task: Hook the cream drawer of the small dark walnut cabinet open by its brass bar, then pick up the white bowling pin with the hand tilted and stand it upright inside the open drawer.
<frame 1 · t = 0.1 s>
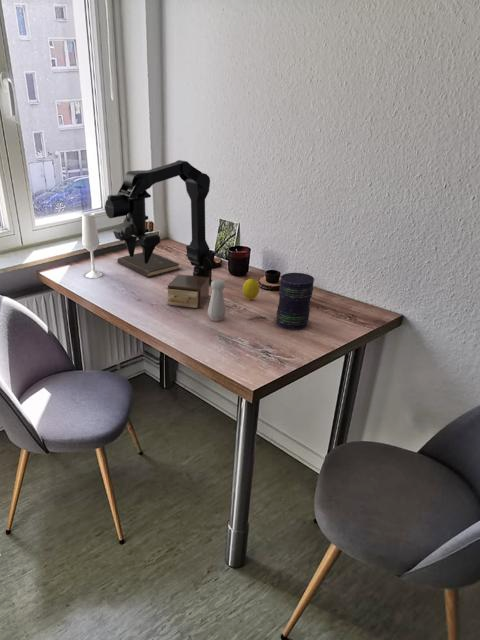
hand: (138, 260, 172), 15 cm above the table, tool pointing down, fingers open, 9 cm apart
lemon: (250, 300, 176), on the table
storage jar: (291, 324, 159), on the table
white bowling pin: (216, 319, 164), on the table
champagne flute: (93, 275, 204), on the table
drawer: (185, 295, 172), point 4 cm above the table, slide at 0.5 cm
hardcover book: (147, 266, 211), on the table
cabinet: (188, 300, 178), on the table
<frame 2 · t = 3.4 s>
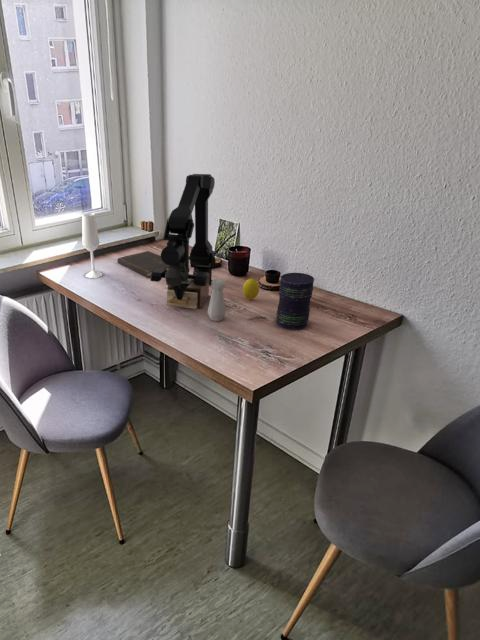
hand: (179, 301, 167), 4 cm above the table, tool pointing down, fingers closed, pressing on drawer
drawer: (184, 296, 172), point 4 cm above the table, slide at 1.4 cm, touching gripper
everything else where it was.
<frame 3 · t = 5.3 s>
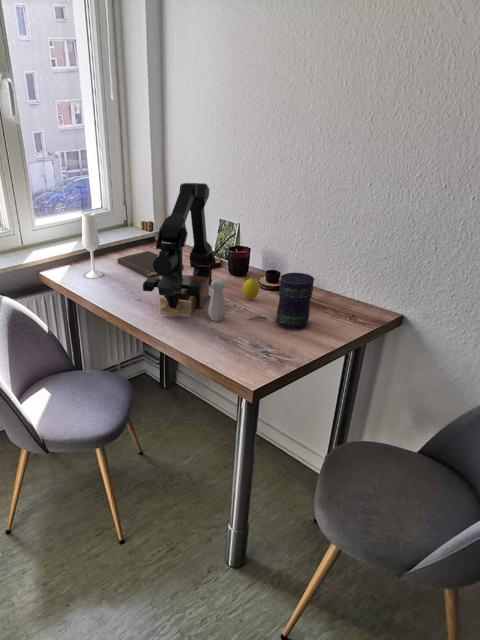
hand: (173, 311, 162), 3 cm above the table, tool pointing down, fingers closed
drawer: (178, 304, 166), point 4 cm above the table, slide at 8.7 cm
everything else where it was.
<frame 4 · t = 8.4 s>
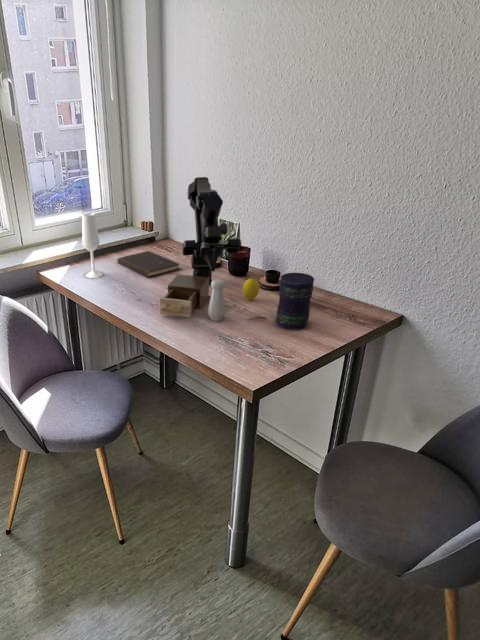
hand: (213, 270, 163), 13 cm above the table, tool tilted 45°, fingers closed
nothing on the table moved.
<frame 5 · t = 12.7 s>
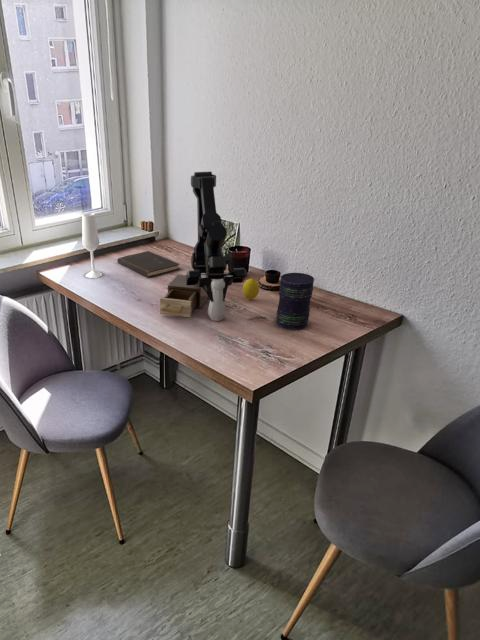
hand: (217, 301, 159), 7 cm above the table, tool tilted 45°, fingers closed on white bowling pin, 3 cm apart
white bowling pin: (216, 319, 164), on the table, touching gripper
everything else where it was.
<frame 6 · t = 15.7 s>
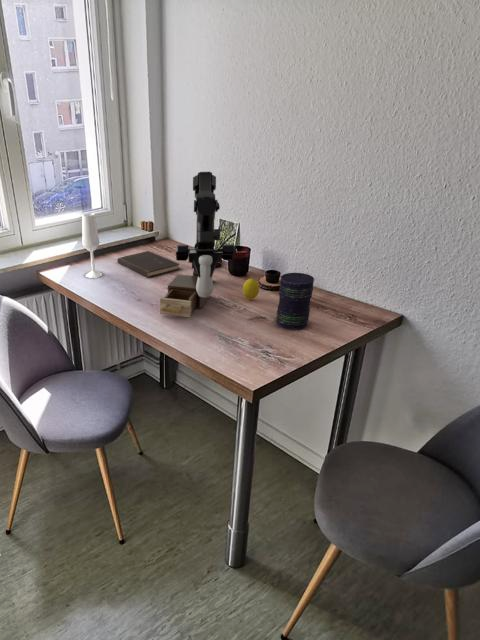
hand: (205, 277, 159), 13 cm above the table, tool tilted 45°, fingers closed on white bowling pin, 3 cm apart
white bowling pin: (204, 295, 164), point 6 cm above the table, touching gripper
everything else where it was.
when the fingers open (9 cm above the table, at t = 18.9 s): white bowling pin stays where it is, resting on drawer.
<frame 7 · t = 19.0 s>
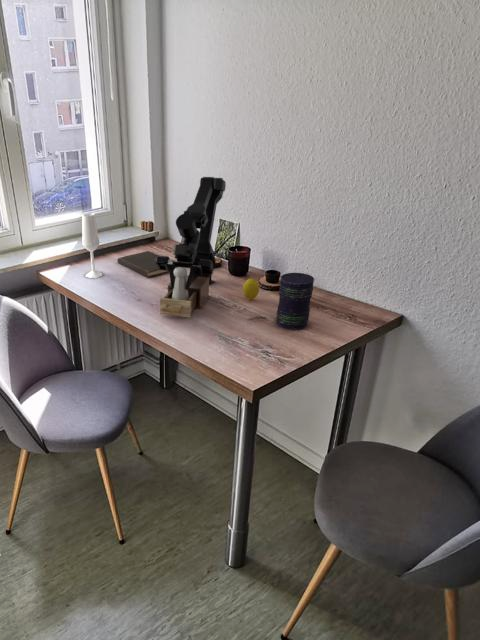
hand: (179, 288, 164), 9 cm above the table, tool tilted 45°, fingers open, 4 cm apart
white bowling pin: (180, 306, 169), point 2 cm above the table, touching drawer
drawer: (177, 304, 166), point 4 cm above the table, slide at 8.8 cm, touching white bowling pin
everything else where it was.
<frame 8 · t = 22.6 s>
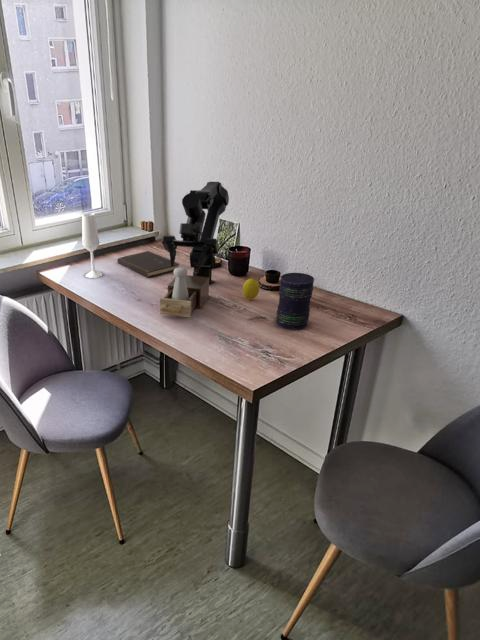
hand: (184, 267, 167), 14 cm above the table, tool tilted 45°, fingers open, 9 cm apart
nothing on the table moved.
at the end: drawer slide at 8.8 cm; white bowling pin 0.1 cm from the target spot in the drawer, point 1.8 cm above the cabinet's base; white bowling pin tilted 0° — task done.
